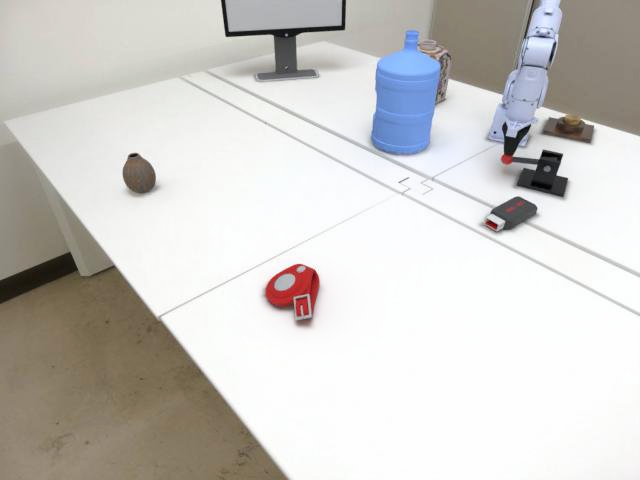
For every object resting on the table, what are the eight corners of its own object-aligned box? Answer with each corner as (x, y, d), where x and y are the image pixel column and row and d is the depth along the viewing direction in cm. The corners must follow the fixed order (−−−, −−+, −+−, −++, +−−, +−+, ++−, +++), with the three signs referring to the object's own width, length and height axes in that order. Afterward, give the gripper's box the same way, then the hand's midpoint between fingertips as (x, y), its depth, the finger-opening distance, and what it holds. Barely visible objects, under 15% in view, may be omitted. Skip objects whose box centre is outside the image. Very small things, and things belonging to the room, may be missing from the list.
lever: (499, 166, 108) (500, 155, 106) (501, 161, 110) (502, 150, 108) (554, 172, 102) (556, 160, 101) (555, 166, 104) (557, 155, 103)
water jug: (441, 146, 121) (461, 34, 104) (395, 161, 115) (408, 45, 98) (403, 125, 132) (415, 20, 114) (359, 138, 125) (365, 29, 108)
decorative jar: (395, 100, 146) (401, 41, 135) (414, 90, 153) (421, 33, 142) (427, 110, 140) (437, 49, 129) (446, 99, 147) (456, 40, 136)
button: (562, 124, 126) (564, 118, 125) (564, 118, 129) (566, 113, 128) (578, 127, 124) (580, 121, 123) (579, 121, 127) (581, 115, 126)
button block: (542, 134, 127) (545, 123, 125) (547, 120, 134) (551, 111, 132) (589, 143, 123) (593, 133, 121) (592, 129, 129) (596, 119, 127)
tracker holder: (251, 291, 78) (289, 252, 82) (262, 307, 80) (298, 269, 85) (300, 316, 70) (339, 271, 74) (310, 333, 72) (347, 289, 77)
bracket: (516, 186, 106) (525, 158, 101) (522, 171, 111) (531, 143, 107) (562, 197, 102) (573, 169, 97) (566, 181, 107) (577, 153, 103)
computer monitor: (231, 83, 159) (214, -52, 134) (230, 75, 165) (213, -56, 140) (345, 75, 165) (349, -56, 140) (339, 67, 171) (343, -59, 146)
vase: (164, 184, 107) (156, 150, 101) (146, 199, 102) (136, 164, 96) (139, 179, 109) (130, 145, 103) (121, 194, 104) (109, 159, 98)
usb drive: (535, 214, 97) (539, 203, 95) (500, 235, 91) (504, 224, 90) (514, 203, 100) (518, 192, 99) (479, 222, 95) (482, 211, 93)
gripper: (539, 112, 91) (520, 171, 100) (549, 89, 101) (532, 144, 110) (503, 105, 94) (488, 163, 103) (516, 83, 104) (502, 138, 113)
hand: (508, 153), depth 106 cm, fingers closed, pressing on lever
